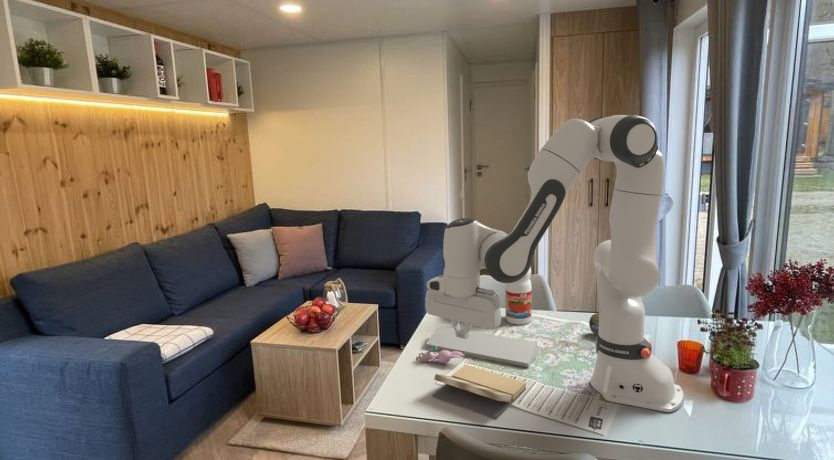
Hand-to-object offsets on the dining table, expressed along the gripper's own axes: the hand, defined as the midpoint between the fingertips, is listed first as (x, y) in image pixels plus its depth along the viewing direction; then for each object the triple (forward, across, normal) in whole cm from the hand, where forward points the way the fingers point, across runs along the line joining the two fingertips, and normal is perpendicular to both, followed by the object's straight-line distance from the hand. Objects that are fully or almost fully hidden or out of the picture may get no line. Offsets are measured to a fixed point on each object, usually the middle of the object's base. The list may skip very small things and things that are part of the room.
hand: (462, 337), depth 121 cm
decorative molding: (+19, +12, -30) cm, 37 cm away
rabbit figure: (+19, +18, -16) cm, 31 cm away
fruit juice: (+18, +13, -60) cm, 64 cm away
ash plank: (+16, -1, -3) cm, 16 cm away
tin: (+18, -20, -61) cm, 67 cm away
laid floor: (+18, -1, -7) cm, 20 cm away
